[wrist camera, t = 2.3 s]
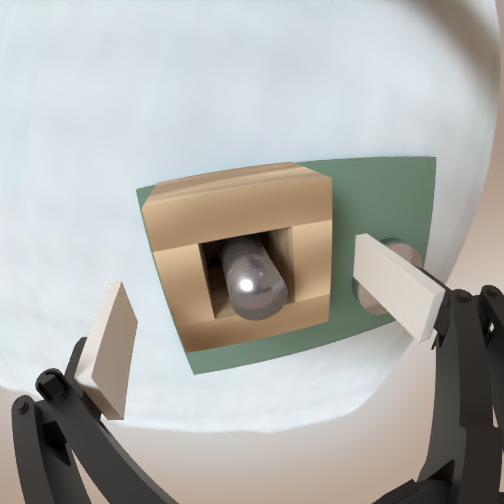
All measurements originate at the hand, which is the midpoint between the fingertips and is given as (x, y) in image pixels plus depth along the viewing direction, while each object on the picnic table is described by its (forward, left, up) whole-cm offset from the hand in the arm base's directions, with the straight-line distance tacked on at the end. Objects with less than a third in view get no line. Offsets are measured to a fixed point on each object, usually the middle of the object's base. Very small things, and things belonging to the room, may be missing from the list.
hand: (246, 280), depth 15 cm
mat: (+6, +8, -8) cm, 13 cm away
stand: (0, 0, -8) cm, 8 cm away
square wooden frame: (0, 0, -6) cm, 6 cm away
